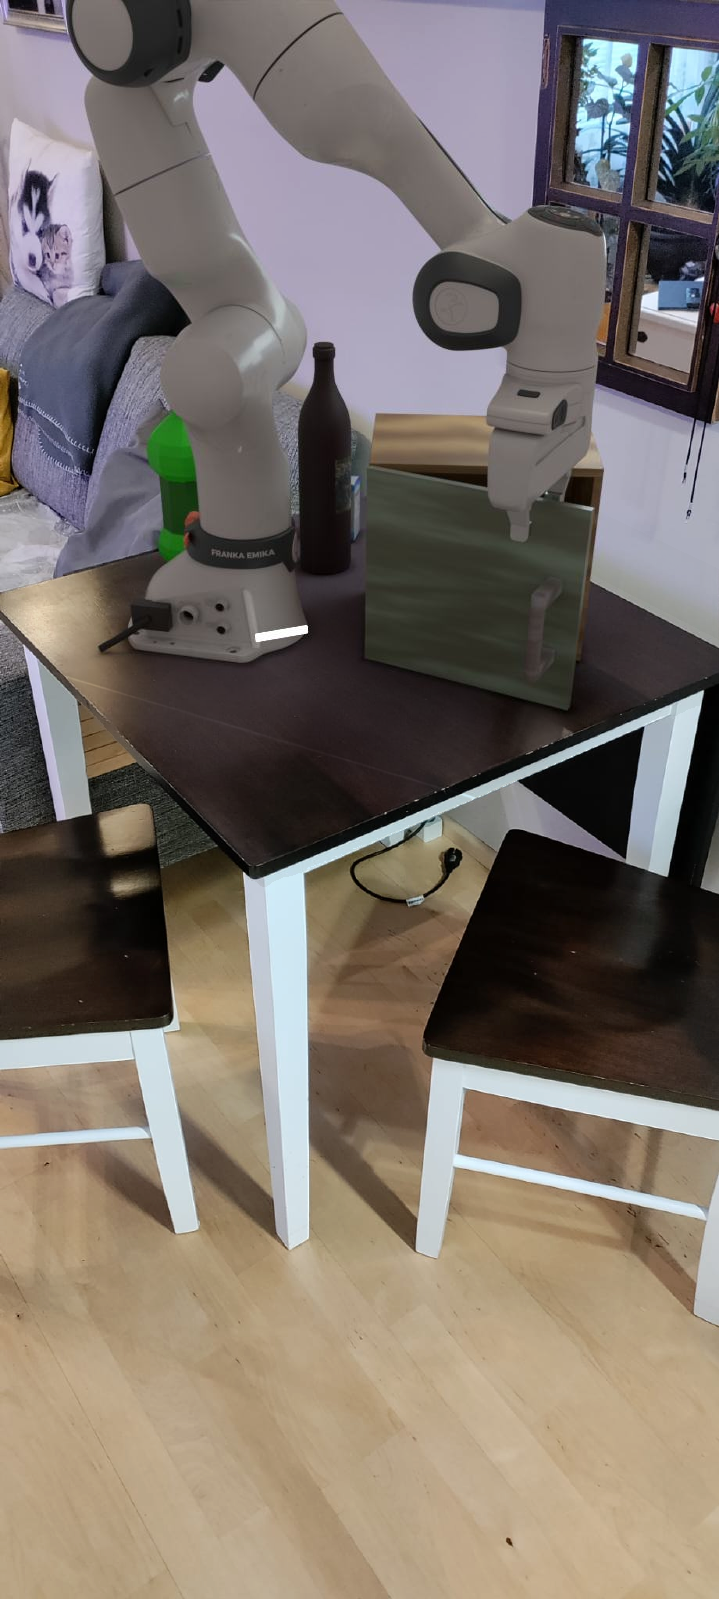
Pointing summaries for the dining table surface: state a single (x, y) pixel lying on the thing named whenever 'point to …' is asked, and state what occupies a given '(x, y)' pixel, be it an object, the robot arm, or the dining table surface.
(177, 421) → the plastic bottle
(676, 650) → the dining table surface
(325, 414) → the wine bottle
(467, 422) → the cupboard
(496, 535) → the door
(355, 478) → the medicine box
